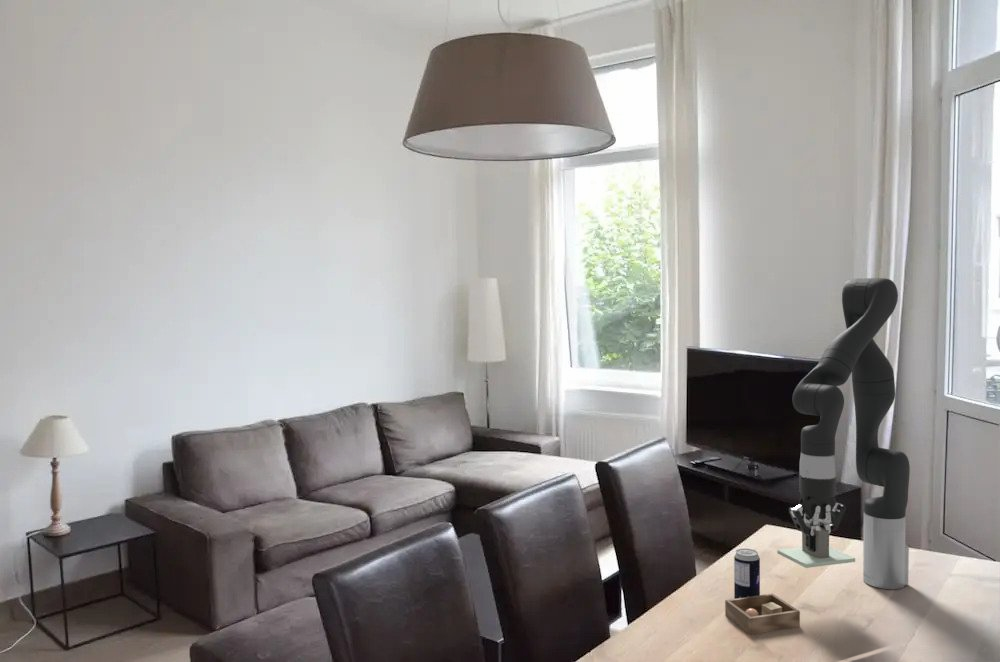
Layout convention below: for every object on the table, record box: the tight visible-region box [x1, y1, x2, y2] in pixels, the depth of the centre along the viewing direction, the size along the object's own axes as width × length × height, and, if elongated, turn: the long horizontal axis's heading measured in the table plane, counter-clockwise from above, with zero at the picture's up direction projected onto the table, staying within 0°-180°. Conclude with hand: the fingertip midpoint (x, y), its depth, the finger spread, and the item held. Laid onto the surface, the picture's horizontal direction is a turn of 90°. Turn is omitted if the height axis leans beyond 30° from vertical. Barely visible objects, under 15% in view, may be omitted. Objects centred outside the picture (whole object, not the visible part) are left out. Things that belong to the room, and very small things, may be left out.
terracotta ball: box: [745, 608, 759, 617], centre depth 171 cm, size 3×3×3 cm
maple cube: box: [762, 602, 782, 615], centre depth 173 cm, size 3×3×3 cm
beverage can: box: [733, 548, 761, 599], centre depth 183 cm, size 6×6×12 cm
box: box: [724, 593, 801, 635], centre depth 172 cm, size 12×10×4 cm
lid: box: [776, 525, 856, 569], centre depth 175 cm, size 12×10×7 cm
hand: (817, 549), depth 175 cm, fingers closed on lid, 2 cm apart
